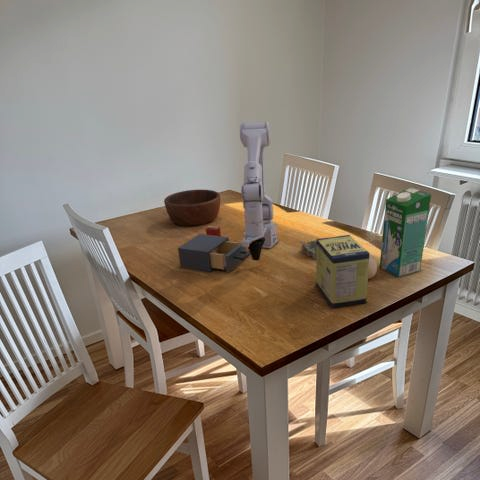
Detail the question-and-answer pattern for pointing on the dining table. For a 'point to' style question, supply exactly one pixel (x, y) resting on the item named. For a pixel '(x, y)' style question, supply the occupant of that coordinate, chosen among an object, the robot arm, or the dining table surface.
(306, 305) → the dining table surface
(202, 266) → the cabinet
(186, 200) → the wooden bowl
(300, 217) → the dining table surface
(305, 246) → the egg carton
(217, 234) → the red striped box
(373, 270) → the egg
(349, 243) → the protein box
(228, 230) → the dining table surface
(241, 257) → the drawer
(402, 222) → the milk carton
